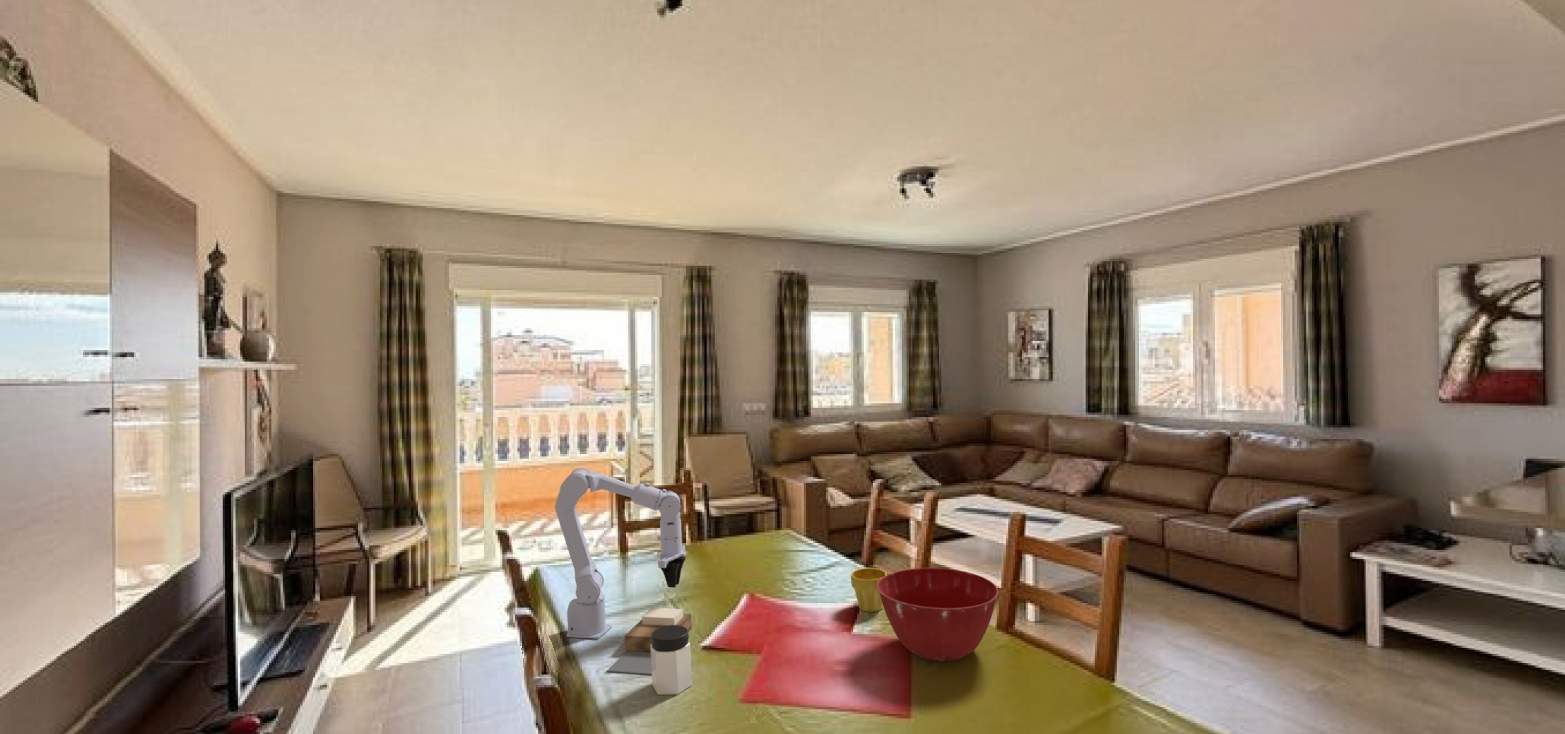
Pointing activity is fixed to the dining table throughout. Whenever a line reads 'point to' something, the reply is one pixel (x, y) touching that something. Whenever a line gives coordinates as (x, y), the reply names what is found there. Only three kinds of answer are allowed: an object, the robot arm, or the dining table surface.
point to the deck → (648, 634)
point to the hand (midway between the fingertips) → (673, 585)
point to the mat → (633, 663)
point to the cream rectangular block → (662, 616)
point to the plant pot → (867, 588)
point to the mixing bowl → (938, 610)
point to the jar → (670, 660)
